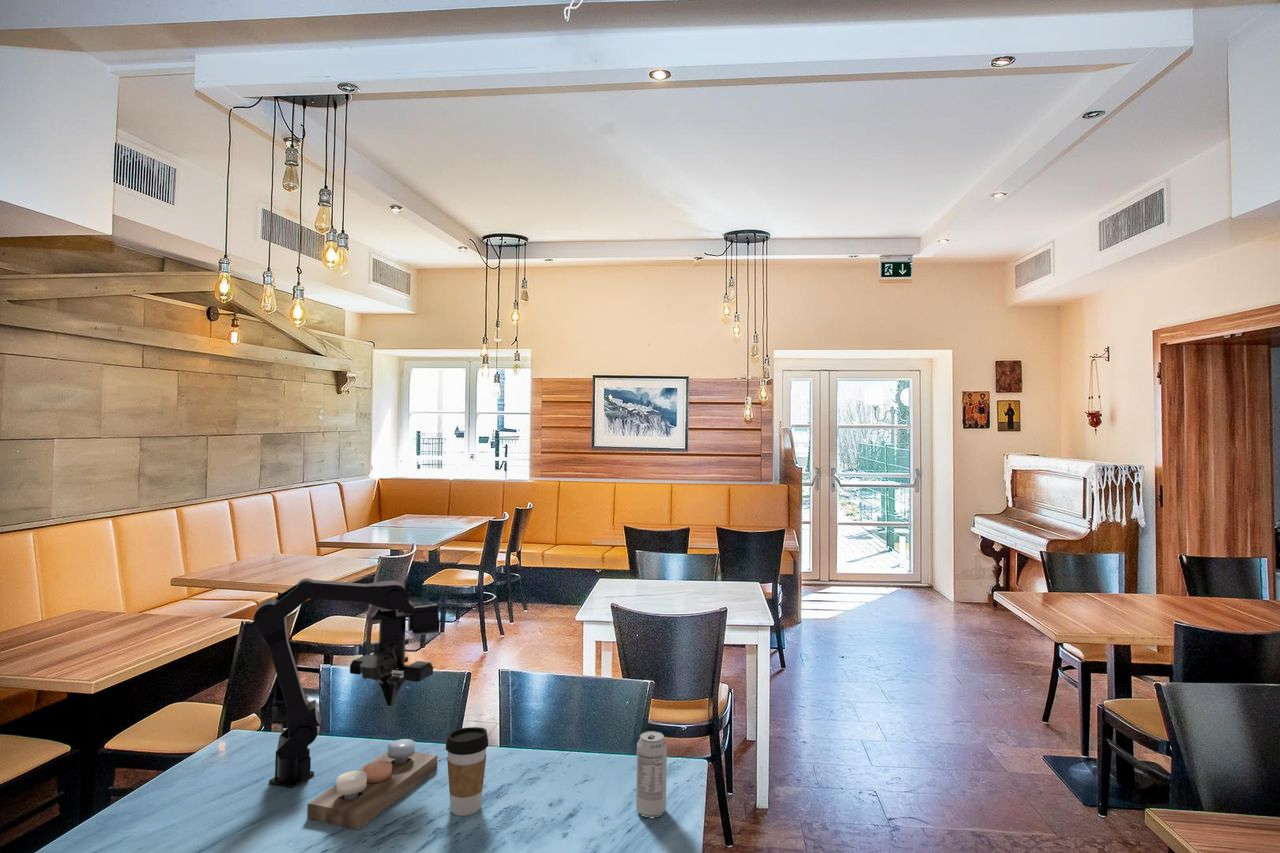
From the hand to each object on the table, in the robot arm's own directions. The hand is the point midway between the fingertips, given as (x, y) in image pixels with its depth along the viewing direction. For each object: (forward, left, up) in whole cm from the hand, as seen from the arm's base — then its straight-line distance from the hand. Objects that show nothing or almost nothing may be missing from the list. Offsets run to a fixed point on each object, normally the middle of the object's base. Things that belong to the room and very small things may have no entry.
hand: (390, 705), depth 156 cm
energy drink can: (+63, -2, -13) cm, 64 cm away
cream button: (+6, -20, -11) cm, 24 cm away
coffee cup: (+27, -12, -13) cm, 32 cm away
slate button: (+6, -4, -11) cm, 13 cm away
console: (+6, -12, -13) cm, 19 cm away
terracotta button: (+6, -12, -13) cm, 19 cm away
